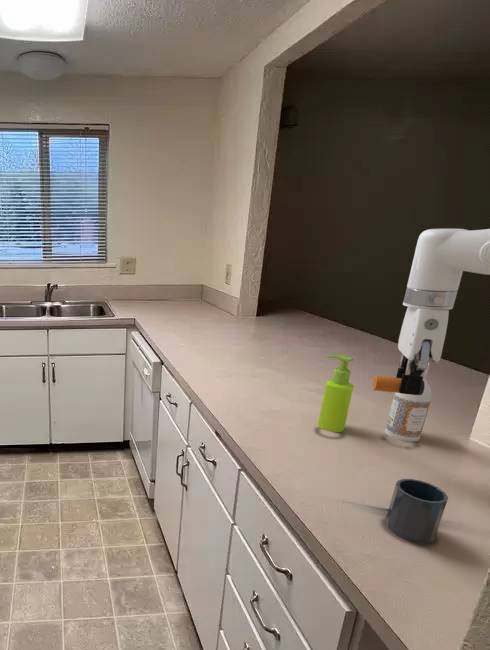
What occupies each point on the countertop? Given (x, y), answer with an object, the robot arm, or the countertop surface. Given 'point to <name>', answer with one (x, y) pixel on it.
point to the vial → (390, 384)
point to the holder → (416, 510)
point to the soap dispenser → (336, 397)
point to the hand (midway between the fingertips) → (406, 389)
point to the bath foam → (409, 414)
